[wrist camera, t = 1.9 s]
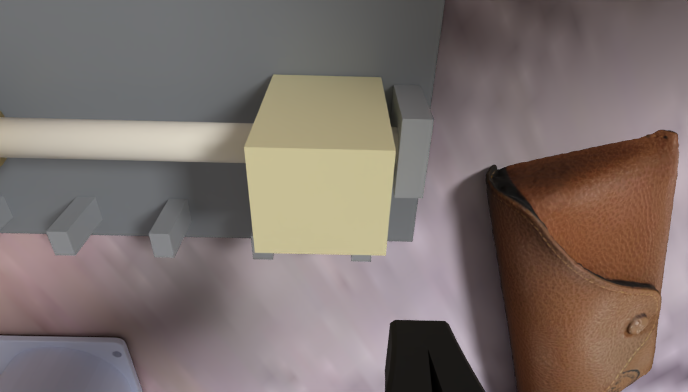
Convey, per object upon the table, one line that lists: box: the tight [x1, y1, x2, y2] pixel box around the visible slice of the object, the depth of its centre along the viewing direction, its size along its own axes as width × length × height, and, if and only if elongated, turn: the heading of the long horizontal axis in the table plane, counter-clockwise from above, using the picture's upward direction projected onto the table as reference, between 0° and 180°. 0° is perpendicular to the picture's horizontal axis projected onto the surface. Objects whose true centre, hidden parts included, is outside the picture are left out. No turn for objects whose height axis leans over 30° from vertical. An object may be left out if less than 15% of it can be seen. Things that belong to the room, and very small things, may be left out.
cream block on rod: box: [244, 74, 396, 256], centre depth 16 cm, size 4×4×6 cm
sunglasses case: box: [486, 130, 679, 392], centre depth 24 cm, size 18×7×7 cm, turn 17°
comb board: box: [0, 0, 445, 262], centre depth 17 cm, size 21×12×4 cm, turn 89°
